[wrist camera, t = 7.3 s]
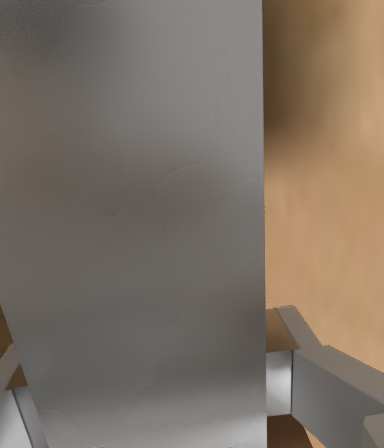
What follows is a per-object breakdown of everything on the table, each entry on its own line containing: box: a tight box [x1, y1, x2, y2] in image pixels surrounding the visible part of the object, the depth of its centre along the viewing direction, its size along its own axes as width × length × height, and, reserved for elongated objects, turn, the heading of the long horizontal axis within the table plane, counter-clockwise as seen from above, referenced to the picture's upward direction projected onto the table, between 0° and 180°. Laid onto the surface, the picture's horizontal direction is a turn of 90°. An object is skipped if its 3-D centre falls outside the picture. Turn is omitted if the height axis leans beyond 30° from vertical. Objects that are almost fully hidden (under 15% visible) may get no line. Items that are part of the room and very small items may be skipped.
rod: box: [0, 0, 267, 448], centre depth 7 cm, size 22×4×4 cm, turn 5°
